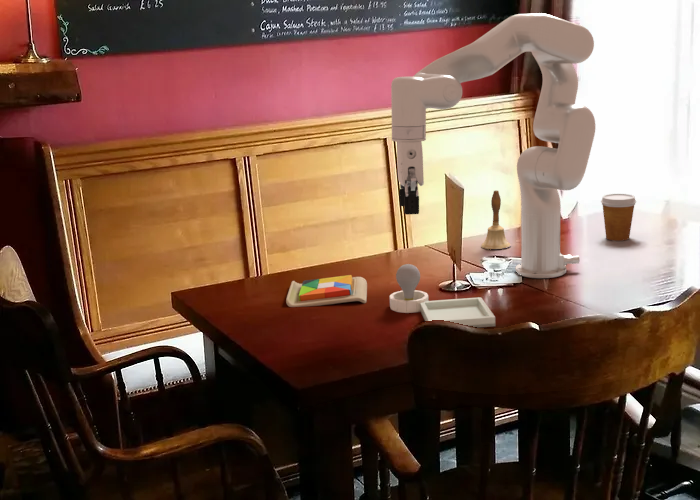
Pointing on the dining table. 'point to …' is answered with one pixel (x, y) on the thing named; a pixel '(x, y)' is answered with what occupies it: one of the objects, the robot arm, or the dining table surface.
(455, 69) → the robot arm
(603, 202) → the disposable coffee cup
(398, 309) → the holder ring
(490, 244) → the hand bell
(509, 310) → the dining table surface
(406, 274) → the light bulb
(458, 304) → the tray
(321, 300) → the wooden puzzle
